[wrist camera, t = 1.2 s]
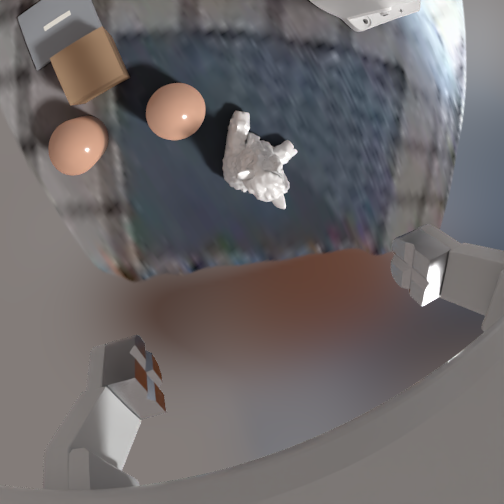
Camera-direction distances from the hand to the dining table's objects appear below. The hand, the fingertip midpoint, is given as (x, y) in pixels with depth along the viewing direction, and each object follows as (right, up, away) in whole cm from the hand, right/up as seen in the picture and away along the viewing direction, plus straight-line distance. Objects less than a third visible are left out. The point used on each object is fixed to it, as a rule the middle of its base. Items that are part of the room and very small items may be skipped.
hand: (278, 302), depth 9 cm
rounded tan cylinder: (-10, +18, +23) cm, 30 cm away
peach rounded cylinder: (-20, +14, +21) cm, 33 cm away
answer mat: (-23, +28, +12) cm, 38 cm away
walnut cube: (-18, +22, +17) cm, 33 cm away
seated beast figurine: (-1, +14, +28) cm, 31 cm away
